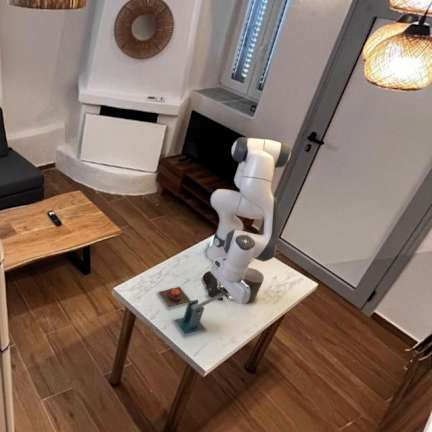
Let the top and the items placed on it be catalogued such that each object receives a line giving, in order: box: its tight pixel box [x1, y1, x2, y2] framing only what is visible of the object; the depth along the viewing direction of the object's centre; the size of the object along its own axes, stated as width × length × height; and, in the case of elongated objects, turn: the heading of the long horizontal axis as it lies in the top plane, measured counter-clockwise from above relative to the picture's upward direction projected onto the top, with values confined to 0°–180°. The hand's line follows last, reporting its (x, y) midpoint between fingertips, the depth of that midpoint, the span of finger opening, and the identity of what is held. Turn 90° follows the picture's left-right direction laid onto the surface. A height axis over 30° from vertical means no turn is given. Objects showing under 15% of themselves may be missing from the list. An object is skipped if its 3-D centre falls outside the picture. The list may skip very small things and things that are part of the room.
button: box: [171, 288, 180, 297], centre depth 185 cm, size 4×4×2 cm
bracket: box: [174, 299, 206, 335], centre depth 170 cm, size 10×8×14 cm
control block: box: [158, 286, 191, 307], centre depth 186 cm, size 11×9×4 cm
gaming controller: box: [206, 283, 224, 302], centre depth 189 cm, size 10×5×6 cm
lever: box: [191, 288, 230, 311], centre depth 167 cm, size 16×6×2 cm, turn 105°
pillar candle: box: [243, 267, 265, 304], centre depth 184 cm, size 10×10×15 cm
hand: (224, 294), depth 168 cm, fingers closed on lever, 5 cm apart
